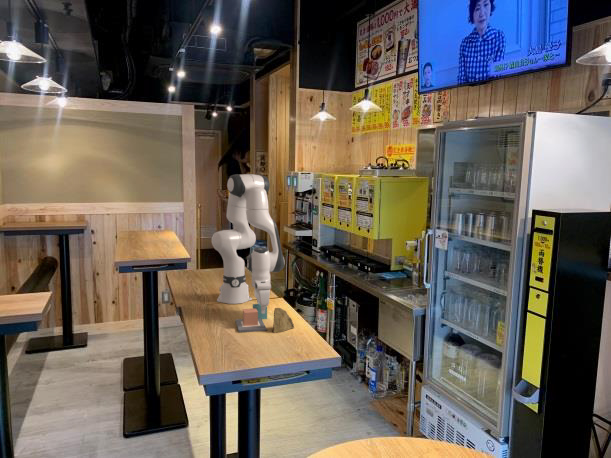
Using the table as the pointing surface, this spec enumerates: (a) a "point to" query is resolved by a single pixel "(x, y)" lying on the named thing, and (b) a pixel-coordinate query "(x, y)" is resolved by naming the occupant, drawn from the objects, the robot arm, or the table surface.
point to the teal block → (260, 315)
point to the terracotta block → (250, 317)
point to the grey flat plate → (250, 328)
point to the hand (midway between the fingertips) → (261, 310)
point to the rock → (281, 321)
